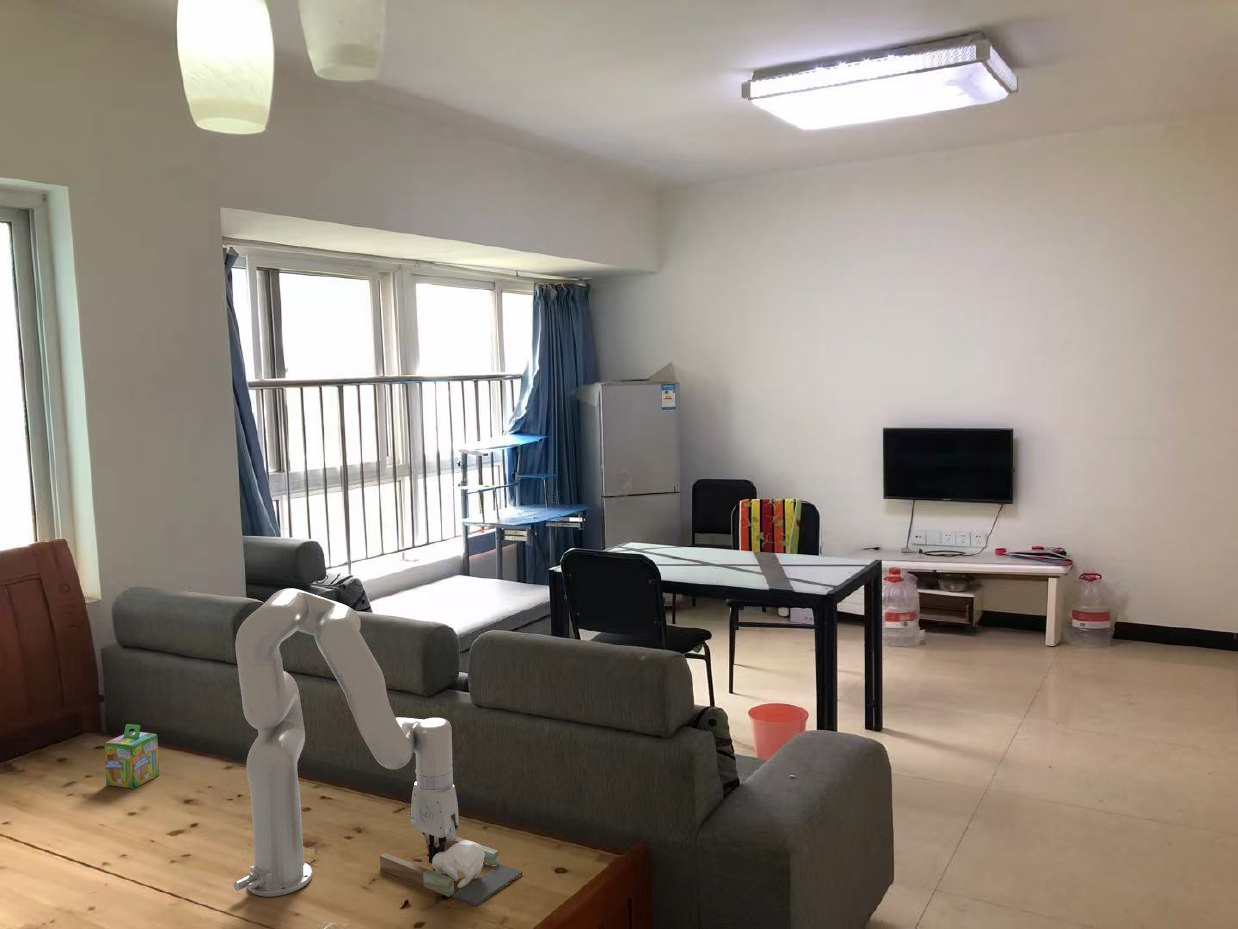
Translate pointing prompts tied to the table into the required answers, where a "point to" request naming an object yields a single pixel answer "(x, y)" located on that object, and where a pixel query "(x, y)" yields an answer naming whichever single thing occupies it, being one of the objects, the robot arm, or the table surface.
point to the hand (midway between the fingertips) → (436, 861)
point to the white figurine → (460, 861)
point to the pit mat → (487, 884)
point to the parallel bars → (427, 876)
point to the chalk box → (131, 758)
